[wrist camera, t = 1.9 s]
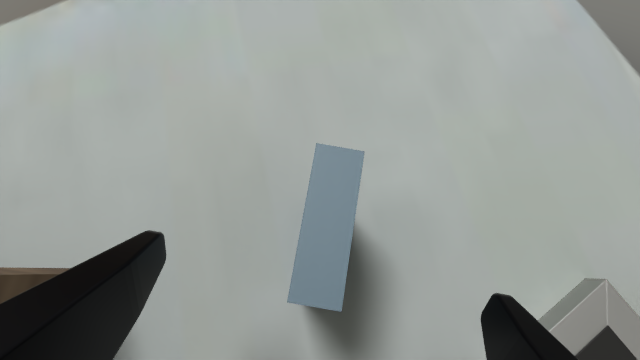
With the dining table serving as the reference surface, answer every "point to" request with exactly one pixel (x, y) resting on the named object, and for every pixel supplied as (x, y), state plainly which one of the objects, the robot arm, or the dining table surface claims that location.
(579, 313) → the picture frame
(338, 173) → the domino
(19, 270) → the domino
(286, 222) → the dining table surface
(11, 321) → the robot arm
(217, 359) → the dining table surface
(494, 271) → the dining table surface
